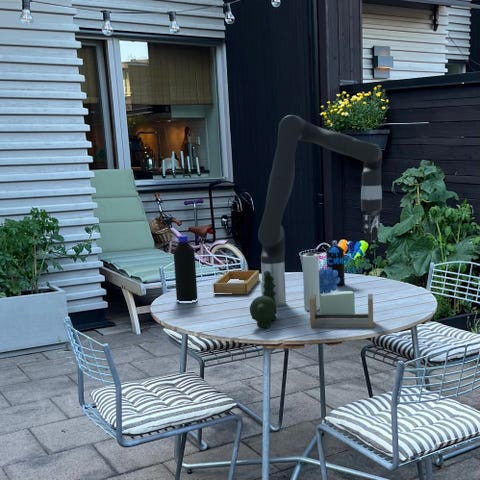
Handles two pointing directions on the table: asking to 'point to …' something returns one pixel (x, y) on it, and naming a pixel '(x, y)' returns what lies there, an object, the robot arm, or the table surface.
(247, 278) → the tray
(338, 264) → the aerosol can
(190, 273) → the bottle
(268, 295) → the toy figurine
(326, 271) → the grapes
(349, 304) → the pale green rectangular block
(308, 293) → the paper towel roll
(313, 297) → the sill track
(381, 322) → the table surface
